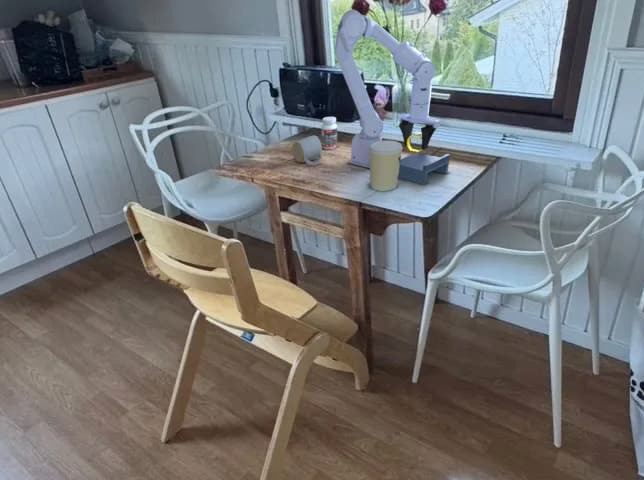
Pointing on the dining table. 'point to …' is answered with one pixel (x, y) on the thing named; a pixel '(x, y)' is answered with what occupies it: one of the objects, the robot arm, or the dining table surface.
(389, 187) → the coffee cup
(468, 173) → the dining table surface
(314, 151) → the ceramic mug
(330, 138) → the pill bottle
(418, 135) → the watch
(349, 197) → the dining table surface
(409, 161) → the blue stand
